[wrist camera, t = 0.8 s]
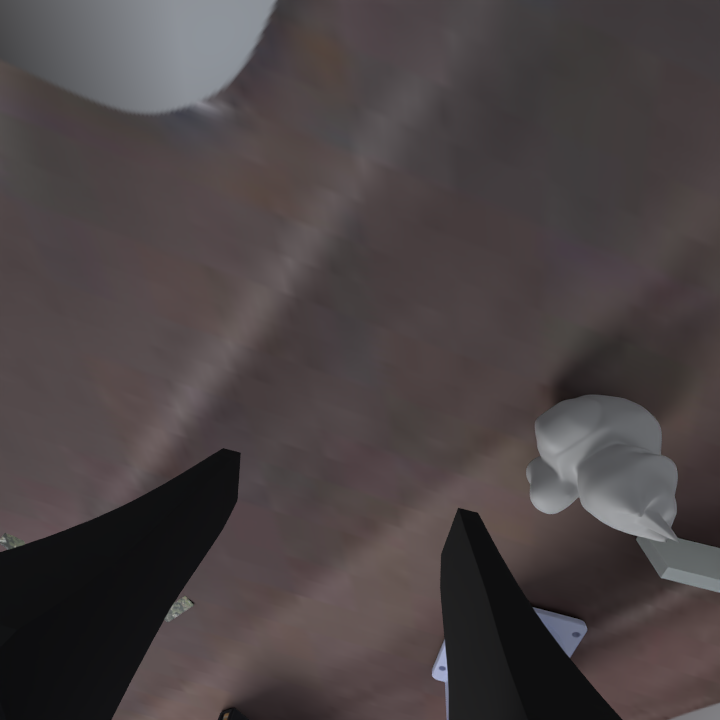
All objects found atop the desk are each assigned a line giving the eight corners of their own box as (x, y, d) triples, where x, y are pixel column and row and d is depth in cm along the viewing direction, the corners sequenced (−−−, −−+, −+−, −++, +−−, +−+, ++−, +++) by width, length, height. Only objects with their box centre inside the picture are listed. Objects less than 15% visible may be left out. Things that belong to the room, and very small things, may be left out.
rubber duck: (659, 426, 19) (805, 559, 12) (550, 493, 22) (615, 638, 14) (591, 355, 19) (702, 450, 11) (486, 433, 21) (520, 553, 14)
